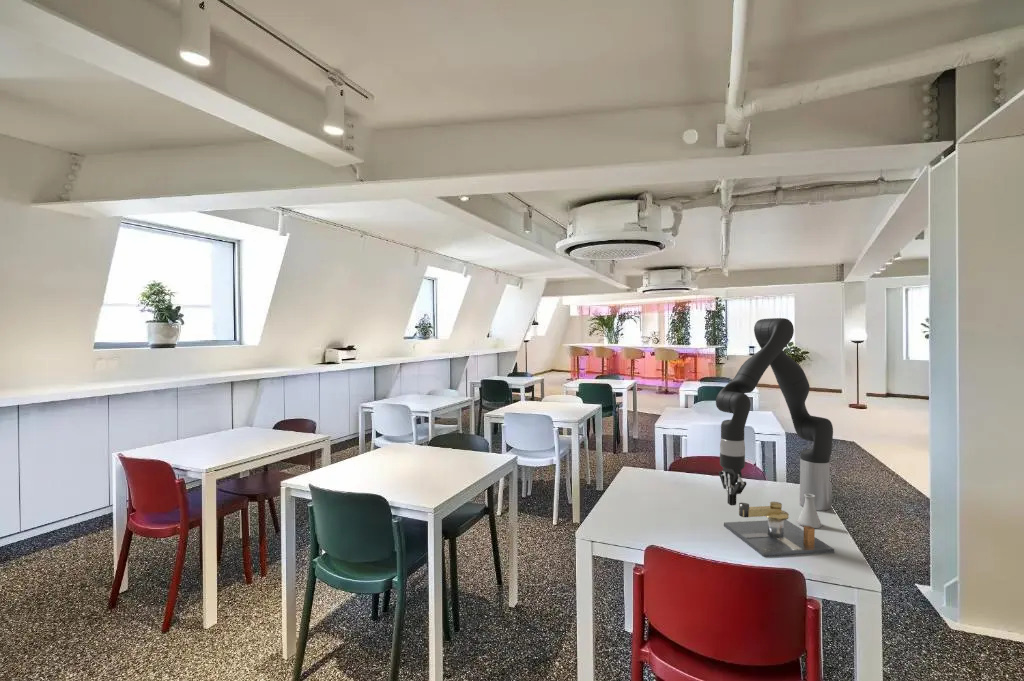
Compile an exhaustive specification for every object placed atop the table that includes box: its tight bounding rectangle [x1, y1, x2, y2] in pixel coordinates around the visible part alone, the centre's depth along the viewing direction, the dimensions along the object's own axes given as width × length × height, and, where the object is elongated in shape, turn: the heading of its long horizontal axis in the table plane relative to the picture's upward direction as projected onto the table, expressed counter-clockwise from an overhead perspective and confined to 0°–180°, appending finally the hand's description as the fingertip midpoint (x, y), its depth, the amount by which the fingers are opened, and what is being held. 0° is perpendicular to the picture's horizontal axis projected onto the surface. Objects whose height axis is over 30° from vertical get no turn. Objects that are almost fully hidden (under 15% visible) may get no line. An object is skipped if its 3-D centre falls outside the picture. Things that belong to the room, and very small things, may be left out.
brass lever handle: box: [738, 501, 790, 521], centre depth 156 cm, size 15×7×4 cm, turn 96°
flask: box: [796, 494, 823, 529], centre depth 167 cm, size 7×7×10 cm
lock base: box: [723, 517, 835, 558], centre depth 156 cm, size 22×22×7 cm
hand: (731, 504), depth 164 cm, fingers closed
